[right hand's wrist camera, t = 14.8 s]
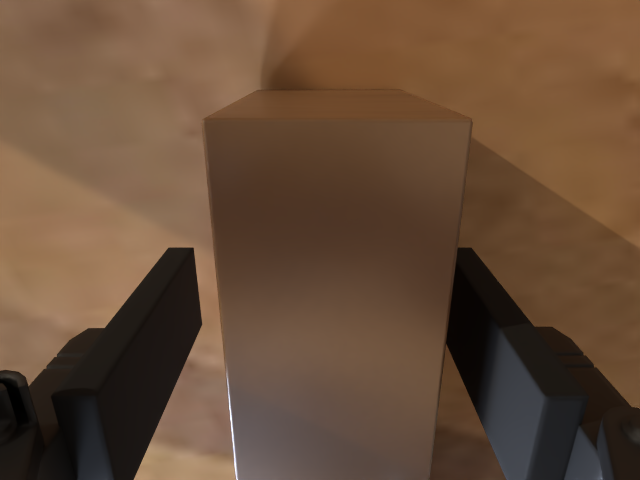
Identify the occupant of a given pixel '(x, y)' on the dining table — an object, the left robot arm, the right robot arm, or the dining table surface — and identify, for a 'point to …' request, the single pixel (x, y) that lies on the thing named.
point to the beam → (335, 277)
